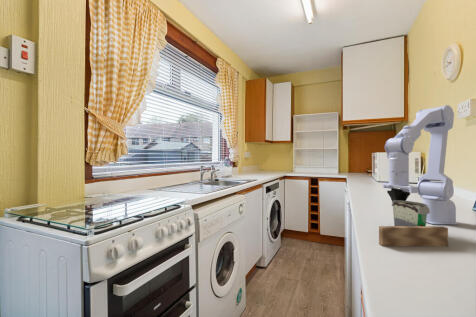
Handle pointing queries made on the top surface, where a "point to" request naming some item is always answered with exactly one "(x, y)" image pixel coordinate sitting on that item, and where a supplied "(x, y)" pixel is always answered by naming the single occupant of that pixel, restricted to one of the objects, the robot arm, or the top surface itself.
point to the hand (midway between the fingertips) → (398, 211)
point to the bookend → (403, 223)
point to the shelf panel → (413, 236)
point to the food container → (410, 211)
